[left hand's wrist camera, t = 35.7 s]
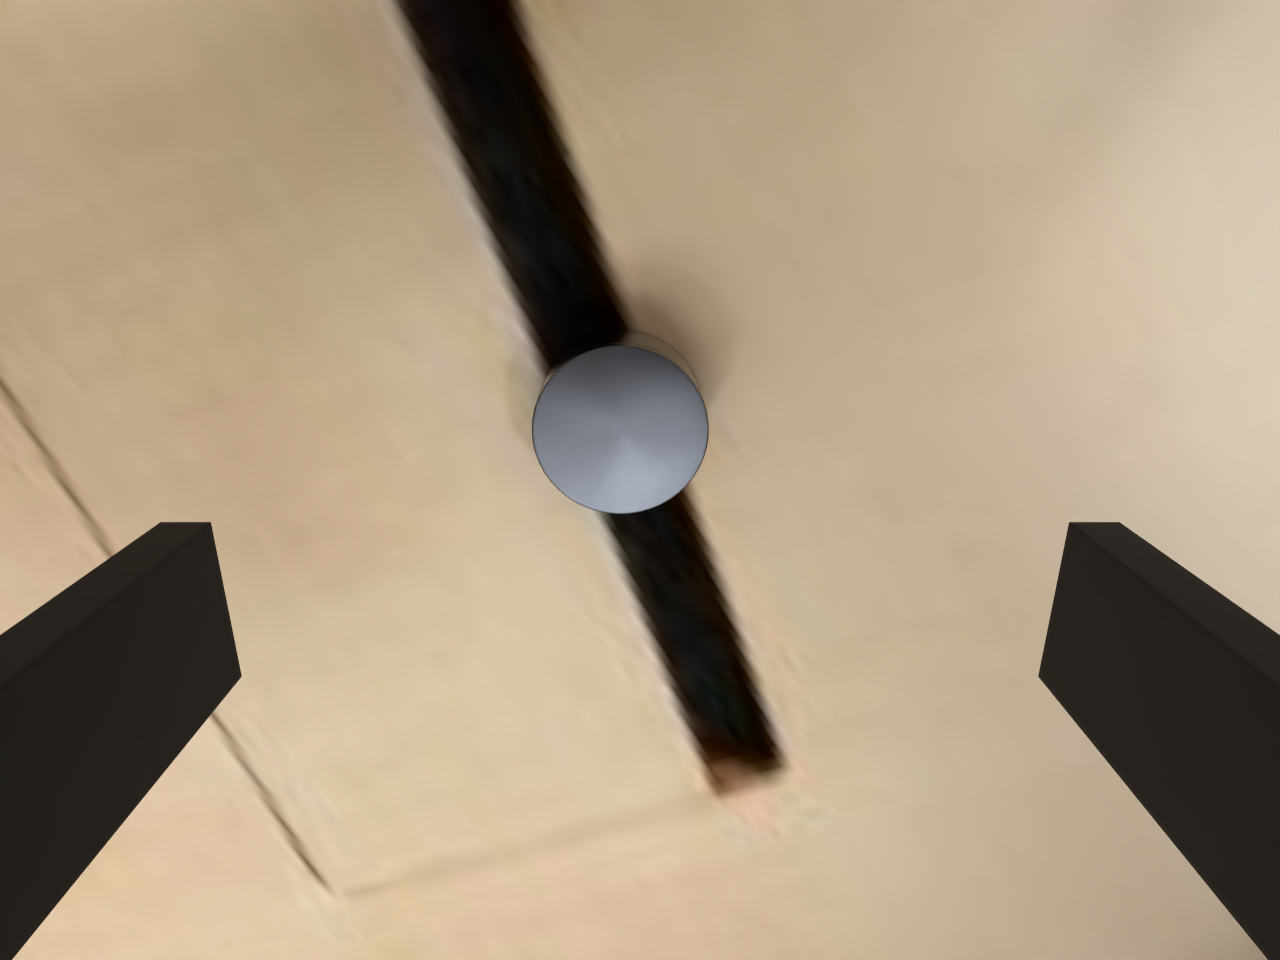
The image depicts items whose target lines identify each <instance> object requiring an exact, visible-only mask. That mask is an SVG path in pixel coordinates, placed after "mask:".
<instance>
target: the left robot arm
mask: <svg viewBox="0 0 1280 960" xmlns="http://www.w3.org/2000/svg"><path fill="white" fill-rule="evenodd" d="M241 677H242V676H241V671H240V666H239V661H238V656H237V651H236V646H235V641H234V636H233V631H232V626H231V621H230V616H229V611H228V606H227V601H226V596H225V591H224V586H223V581H222V576H221V571H220V566H219V561H218V556H217V551H216V546H215V541H214V536H213V531H212V526H211V522H160V523H159V524H158V525H156V526H155V527H153V528H152V529H150V530H149V531H148V532H146V533H145V534H143V535H142V536H141V537H139V538H138V539H136V540H135V541H133V542H132V543H131V544H129V545H128V546H126V547H125V548H123V549H122V550H121V551H119V552H118V553H116V554H115V555H114V556H112V557H111V558H109V559H108V560H106V561H105V562H104V563H102V564H101V565H99V566H98V567H96V568H95V569H94V570H92V571H91V572H89V573H88V574H87V575H85V576H84V577H82V578H81V579H79V580H78V581H77V582H75V583H74V584H72V585H71V586H69V587H68V588H67V589H65V590H64V591H62V592H61V593H60V594H58V595H57V596H55V597H54V598H52V599H51V600H50V601H48V602H47V603H45V604H44V605H42V606H41V607H40V608H38V609H37V610H35V611H34V612H33V613H31V614H30V615H28V616H27V617H25V618H24V619H23V620H21V621H20V622H18V623H17V624H15V625H14V626H13V627H11V628H10V629H8V630H7V631H6V632H4V633H3V634H1V635H0V960H12V959H13V958H14V957H15V955H16V954H17V953H18V952H19V950H20V949H21V948H22V947H23V945H24V944H25V943H26V942H27V940H28V939H29V938H30V937H31V936H32V934H33V933H34V932H35V931H36V929H37V928H38V927H39V926H40V924H41V923H42V922H43V921H44V920H45V918H46V917H47V916H48V915H49V913H50V912H51V911H52V910H53V908H54V907H55V906H56V905H57V903H58V902H59V901H60V900H61V899H62V897H63V896H64V895H65V894H66V892H67V891H68V890H69V889H70V887H71V886H72V885H73V884H74V883H75V881H76V880H77V879H78V878H79V876H80V875H81V874H82V873H83V871H84V870H85V869H86V868H87V866H88V865H89V864H90V863H91V862H92V860H93V859H94V858H95V857H96V855H97V854H98V853H99V852H100V850H101V849H102V848H103V847H104V846H105V844H106V843H107V842H108V841H109V839H110V838H111V837H112V836H113V834H114V833H115V832H116V831H117V829H118V828H119V827H120V826H121V825H122V823H123V822H124V821H125V820H126V818H127V817H128V816H129V815H130V813H131V812H132V811H133V810H134V809H135V807H136V806H137V805H138V804H139V802H140V801H141V800H142V799H143V797H144V796H145V795H146V794H147V792H148V791H149V790H150V789H151V788H152V786H153V785H154V784H155V783H156V781H157V780H158V779H159V778H160V776H161V775H162V774H163V773H164V772H165V770H166V769H167V768H168V767H169V765H170V764H171V763H172V762H173V760H174V759H175V758H176V757H177V755H178V754H179V753H180V752H181V751H182V749H183V748H184V747H185V746H186V744H187V743H188V742H189V741H190V739H191V738H192V737H193V736H194V735H195V733H196V732H197V731H198V730H199V728H200V727H201V726H202V725H203V723H204V722H205V721H206V720H207V718H208V717H209V716H210V715H211V714H212V712H213V711H214V710H215V709H216V707H217V706H218V705H219V704H220V702H221V701H222V700H223V699H224V698H225V696H226V695H227V694H228V693H229V691H230V690H231V689H232V688H233V686H234V685H235V684H236V683H237V681H238V680H239V679H240V678H241ZM1038 677H1039V678H1040V679H1041V680H1042V681H1043V683H1044V684H1045V685H1046V686H1047V688H1048V689H1049V690H1050V691H1051V693H1052V694H1053V695H1054V696H1055V698H1056V699H1057V700H1058V701H1059V702H1060V704H1061V705H1062V706H1063V707H1064V709H1065V710H1066V711H1067V712H1068V714H1069V715H1070V716H1071V717H1072V718H1073V720H1074V721H1075V722H1076V723H1077V725H1078V726H1079V727H1080V728H1081V730H1082V731H1083V732H1084V733H1085V735H1086V736H1087V737H1088V738H1089V739H1090V741H1091V742H1092V743H1093V744H1094V746H1095V747H1096V748H1097V749H1098V751H1099V752H1100V753H1101V754H1102V755H1103V757H1104V758H1105V759H1106V760H1107V762H1108V763H1109V764H1110V765H1111V767H1112V768H1113V769H1114V770H1115V772H1116V773H1117V774H1118V775H1119V776H1120V778H1121V779H1122V780H1123V781H1124V783H1125V784H1126V785H1127V786H1128V788H1129V789H1130V790H1131V791H1132V792H1133V794H1134V795H1135V796H1136V797H1137V799H1138V800H1139V801H1140V802H1141V804H1142V805H1143V806H1144V807H1145V809H1146V810H1147V811H1148V812H1149V813H1150V815H1151V816H1152V817H1153V818H1154V820H1155V821H1156V822H1157V823H1158V825H1159V826H1160V827H1161V828H1162V829H1163V831H1164V832H1165V833H1166V834H1167V836H1168V837H1169V838H1170V839H1171V841H1172V842H1173V843H1174V844H1175V846H1176V847H1177V848H1178V849H1179V850H1180V852H1181V853H1182V854H1183V855H1184V857H1185V858H1186V859H1187V860H1188V862H1189V863H1190V864H1191V865H1192V866H1193V868H1194V869H1195V870H1196V871H1197V873H1198V874H1199V875H1200V876H1201V878H1202V879H1203V880H1204V881H1205V883H1206V884H1207V885H1208V886H1209V887H1210V889H1211V890H1212V891H1213V892H1214V894H1215V895H1216V896H1217V897H1218V899H1219V900H1220V901H1221V902H1222V903H1223V905H1224V906H1225V907H1226V908H1227V910H1228V911H1229V912H1230V913H1231V915H1232V916H1233V917H1234V918H1235V920H1236V921H1237V922H1238V923H1239V924H1240V926H1241V927H1242V928H1243V929H1244V931H1245V932H1246V933H1247V934H1248V936H1249V937H1250V938H1251V939H1252V940H1253V942H1254V943H1255V944H1256V945H1257V947H1258V948H1259V949H1260V950H1261V952H1262V953H1263V954H1264V955H1265V957H1266V958H1267V959H1268V960H1280V635H1279V634H1277V633H1276V632H1274V631H1273V630H1272V629H1270V628H1269V627H1267V626H1266V625H1265V624H1263V623H1262V622H1260V621H1259V620H1257V619H1256V618H1255V617H1253V616H1252V615H1250V614H1249V613H1247V612H1246V611H1245V610H1243V609H1242V608H1240V607H1239V606H1238V605H1236V604H1235V603H1233V602H1232V601H1230V600H1229V599H1228V598H1226V597H1225V596H1223V595H1222V594H1220V593H1219V592H1218V591H1216V590H1215V589H1213V588H1212V587H1211V586H1209V585H1208V584H1206V583H1205V582H1203V581H1202V580H1201V579H1199V578H1198V577H1196V576H1195V575H1193V574H1192V573H1191V572H1189V571H1188V570H1186V569H1185V568H1184V567H1182V566H1181V565H1179V564H1178V563H1176V562H1175V561H1174V560H1172V559H1171V558H1169V557H1168V556H1166V555H1165V554H1164V553H1162V552H1161V551H1159V550H1158V549H1157V548H1155V547H1154V546H1152V545H1151V544H1149V543H1148V542H1147V541H1145V540H1144V539H1142V538H1141V537H1139V536H1138V535H1137V534H1135V533H1134V532H1132V531H1131V530H1130V529H1128V528H1127V527H1125V526H1124V525H1122V524H1121V523H1120V522H1069V526H1068V531H1067V536H1066V541H1065V546H1064V551H1063V556H1062V561H1061V566H1060V571H1059V576H1058V581H1057V586H1056V591H1055V596H1054V601H1053V606H1052V611H1051V616H1050V621H1049V626H1048V631H1047V636H1046V641H1045V646H1044V651H1043V656H1042V661H1041V666H1040V671H1039V676H1038Z"/></svg>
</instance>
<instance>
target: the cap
mask: <svg viewBox="0 0 1280 960" xmlns="http://www.w3.org/2000/svg"><path fill="white" fill-rule="evenodd" d="M708 436H709V424H708V417H707V412H706V408H705V404H704V401H703V398H702V395H701V392H700V389H699V386H698V383H697V381H696V379H695V376H694V374H693V372H692V370H691V369H690V367H689V365H688V364H687V363H686V361H685V360H684V359H683V358H682V356H681V355H680V354H679V353H678V352H676V351H675V350H674V349H673V348H672V347H671V346H669V345H668V344H666V343H665V342H663V341H661V340H660V339H658V338H656V337H654V336H651V335H648V334H646V333H642V332H637V331H632V330H609V331H603V332H599V333H596V334H592V335H590V336H588V337H585V338H583V339H581V340H579V341H578V342H576V343H575V344H573V345H572V346H570V347H569V348H568V349H567V350H566V351H564V352H563V353H562V354H561V356H560V357H559V358H558V359H557V360H556V361H555V363H554V364H553V366H552V367H551V369H550V371H549V373H548V375H547V376H546V379H545V381H544V384H543V387H542V389H541V392H540V395H539V397H538V400H537V403H536V406H535V409H534V414H533V419H532V438H533V445H534V449H535V453H536V456H537V458H538V461H539V463H540V465H541V467H542V469H543V471H544V473H545V474H546V475H547V477H548V478H549V480H550V481H551V482H552V483H553V484H554V485H555V487H556V488H557V489H558V490H560V491H561V492H562V493H563V494H564V495H566V496H567V497H568V498H570V499H571V500H573V501H575V502H576V503H578V504H580V505H582V506H585V507H587V508H590V509H593V510H596V511H600V512H605V513H614V514H629V513H636V512H641V511H645V510H648V509H652V508H654V507H656V506H659V505H661V504H663V503H665V502H666V501H668V500H670V499H671V498H673V497H674V496H675V495H677V494H678V493H679V492H680V491H681V490H682V489H683V488H685V487H686V486H687V485H688V483H689V482H690V481H691V479H692V478H693V477H694V476H695V474H696V472H697V471H698V469H699V467H700V465H701V463H702V460H703V458H704V455H705V452H706V448H707V443H708Z"/></svg>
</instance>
